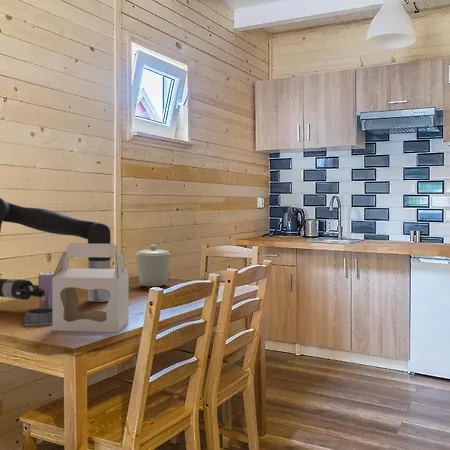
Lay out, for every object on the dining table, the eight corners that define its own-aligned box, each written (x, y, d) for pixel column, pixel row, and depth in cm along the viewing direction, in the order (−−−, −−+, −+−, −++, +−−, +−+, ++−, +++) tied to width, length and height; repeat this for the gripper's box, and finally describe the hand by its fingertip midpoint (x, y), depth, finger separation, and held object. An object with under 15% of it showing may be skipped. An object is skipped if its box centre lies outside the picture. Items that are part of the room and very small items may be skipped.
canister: (128, 285, 265) (128, 244, 264) (157, 282, 277) (157, 242, 276) (148, 290, 251) (148, 246, 250) (178, 286, 264) (178, 244, 263)
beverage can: (58, 312, 198) (58, 272, 198) (48, 315, 193) (48, 274, 192) (45, 311, 200) (45, 272, 200) (35, 314, 195) (34, 273, 194)
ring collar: (59, 316, 190) (59, 306, 190) (61, 323, 179) (61, 313, 179) (24, 319, 186) (24, 308, 186) (24, 326, 175) (24, 315, 175)
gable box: (129, 323, 181) (129, 242, 180) (119, 332, 168) (119, 245, 167) (66, 321, 182) (66, 241, 181) (51, 331, 169) (51, 244, 168)
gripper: (3, 281, 195) (36, 284, 189) (31, 277, 208) (63, 279, 202) (3, 301, 196) (36, 305, 189) (31, 295, 209) (63, 299, 202)
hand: (50, 292), depth 195 cm, fingers open, 8 cm apart
